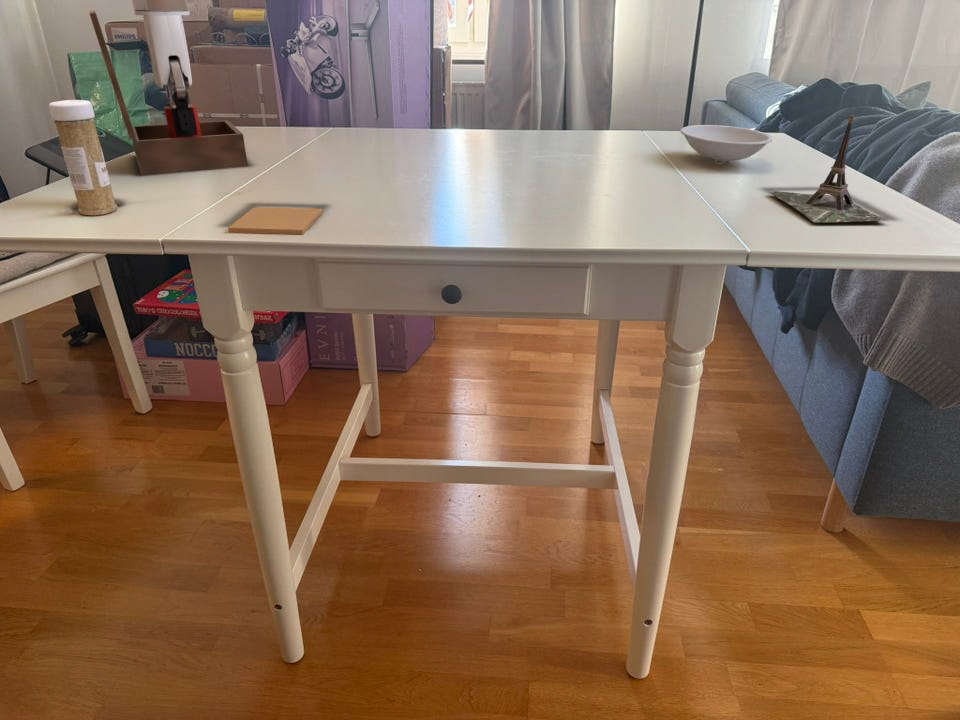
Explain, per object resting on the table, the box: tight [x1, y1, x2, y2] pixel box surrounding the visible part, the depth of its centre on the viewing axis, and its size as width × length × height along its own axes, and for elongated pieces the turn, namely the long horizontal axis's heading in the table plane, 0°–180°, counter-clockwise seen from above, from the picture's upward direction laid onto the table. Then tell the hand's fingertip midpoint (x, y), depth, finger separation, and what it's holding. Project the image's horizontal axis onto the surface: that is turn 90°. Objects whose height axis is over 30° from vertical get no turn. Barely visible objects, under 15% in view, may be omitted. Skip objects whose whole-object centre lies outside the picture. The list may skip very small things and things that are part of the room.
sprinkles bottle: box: [48, 99, 118, 216], centre depth 84 cm, size 5×5×14 cm
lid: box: [88, 10, 135, 140], centre depth 100 cm, size 16×15×1 cm
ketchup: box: [163, 97, 202, 138], centre depth 108 cm, size 5×5×10 cm
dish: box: [680, 124, 774, 165], centre depth 116 cm, size 18×14×5 cm
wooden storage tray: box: [131, 119, 249, 176], centre depth 109 cm, size 16×15×6 cm
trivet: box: [227, 206, 324, 235], centre depth 84 cm, size 9×9×1 cm
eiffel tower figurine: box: [767, 105, 888, 223], centre depth 89 cm, size 15×10×13 cm
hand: (184, 131), depth 108 cm, fingers closed on ketchup, 4 cm apart
